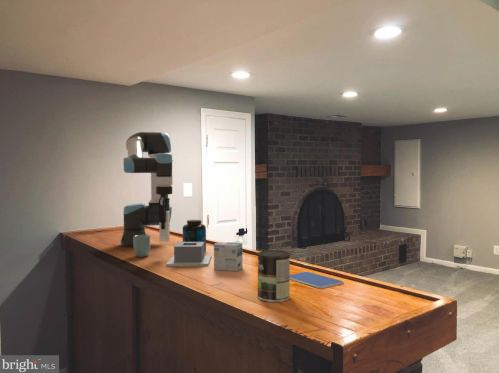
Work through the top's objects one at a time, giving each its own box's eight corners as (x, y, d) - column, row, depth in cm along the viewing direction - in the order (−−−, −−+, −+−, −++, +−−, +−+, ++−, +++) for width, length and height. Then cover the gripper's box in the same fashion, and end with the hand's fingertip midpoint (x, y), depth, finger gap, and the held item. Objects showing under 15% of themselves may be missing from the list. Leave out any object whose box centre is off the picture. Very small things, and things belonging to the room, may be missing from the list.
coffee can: (259, 303, 117) (259, 256, 117) (256, 293, 127) (256, 250, 127) (293, 302, 118) (293, 256, 117) (286, 292, 128) (286, 249, 128)
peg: (161, 239, 185) (161, 210, 184) (169, 239, 185) (169, 210, 185) (159, 241, 181) (159, 211, 180) (167, 241, 181) (167, 211, 181)
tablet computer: (283, 278, 147) (283, 275, 147) (307, 274, 154) (306, 270, 154) (320, 290, 131) (320, 287, 131) (344, 284, 139) (344, 281, 139)
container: (178, 252, 196) (178, 221, 195) (190, 249, 207) (190, 218, 206) (198, 254, 191) (198, 222, 191) (210, 250, 202) (210, 219, 202)
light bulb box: (243, 268, 163) (243, 242, 162) (237, 271, 156) (237, 245, 156) (219, 266, 166) (219, 241, 166) (213, 269, 160) (213, 243, 160)
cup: (145, 258, 183) (145, 237, 183) (130, 257, 185) (130, 236, 184) (153, 255, 191) (152, 234, 190) (138, 254, 192) (138, 234, 192)
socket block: (173, 257, 184) (173, 241, 184) (211, 257, 184) (211, 240, 184) (165, 266, 166) (165, 247, 166) (207, 266, 166) (207, 247, 166)
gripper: (160, 185, 190) (160, 232, 191) (151, 186, 173) (152, 238, 174) (175, 185, 191) (175, 232, 192) (168, 186, 173) (168, 238, 175)
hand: (164, 235), depth 183 cm, fingers closed on peg, 4 cm apart
